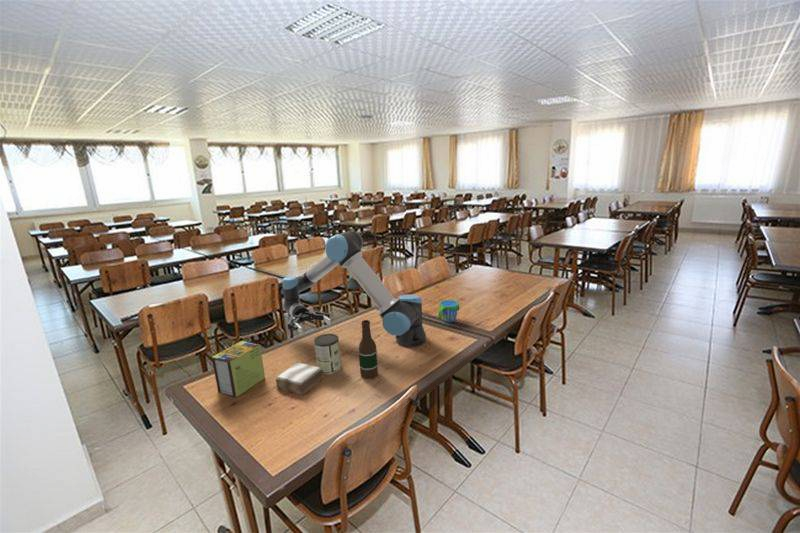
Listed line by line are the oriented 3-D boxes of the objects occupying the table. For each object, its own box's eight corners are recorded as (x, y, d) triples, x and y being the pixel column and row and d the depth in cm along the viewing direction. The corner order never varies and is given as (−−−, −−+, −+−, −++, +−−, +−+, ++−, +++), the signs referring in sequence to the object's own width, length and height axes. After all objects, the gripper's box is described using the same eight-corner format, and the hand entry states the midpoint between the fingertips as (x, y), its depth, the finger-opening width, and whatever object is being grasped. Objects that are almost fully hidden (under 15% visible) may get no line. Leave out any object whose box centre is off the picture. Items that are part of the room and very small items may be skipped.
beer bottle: (381, 371, 158) (378, 318, 152) (374, 380, 151) (370, 326, 145) (364, 368, 160) (360, 316, 154) (356, 378, 153) (352, 324, 147)
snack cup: (445, 327, 199) (445, 309, 196) (432, 321, 207) (432, 304, 204) (465, 319, 208) (466, 302, 205) (452, 314, 216) (452, 297, 213)
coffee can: (321, 362, 168) (318, 333, 164) (343, 362, 166) (341, 333, 163) (314, 374, 158) (310, 344, 154) (337, 374, 157) (334, 344, 153)
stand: (323, 378, 154) (322, 367, 153) (302, 395, 143) (301, 383, 142) (298, 372, 160) (297, 361, 159) (277, 388, 149) (275, 376, 148)
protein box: (265, 377, 157) (260, 344, 153) (236, 397, 144) (229, 361, 140) (247, 373, 161) (242, 340, 157) (217, 392, 148) (210, 356, 144)
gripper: (323, 313, 191) (342, 327, 174) (274, 326, 177) (289, 342, 160) (322, 299, 189) (340, 312, 172) (272, 311, 175) (287, 326, 158)
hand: (316, 326), depth 166 cm, fingers open, 13 cm apart
